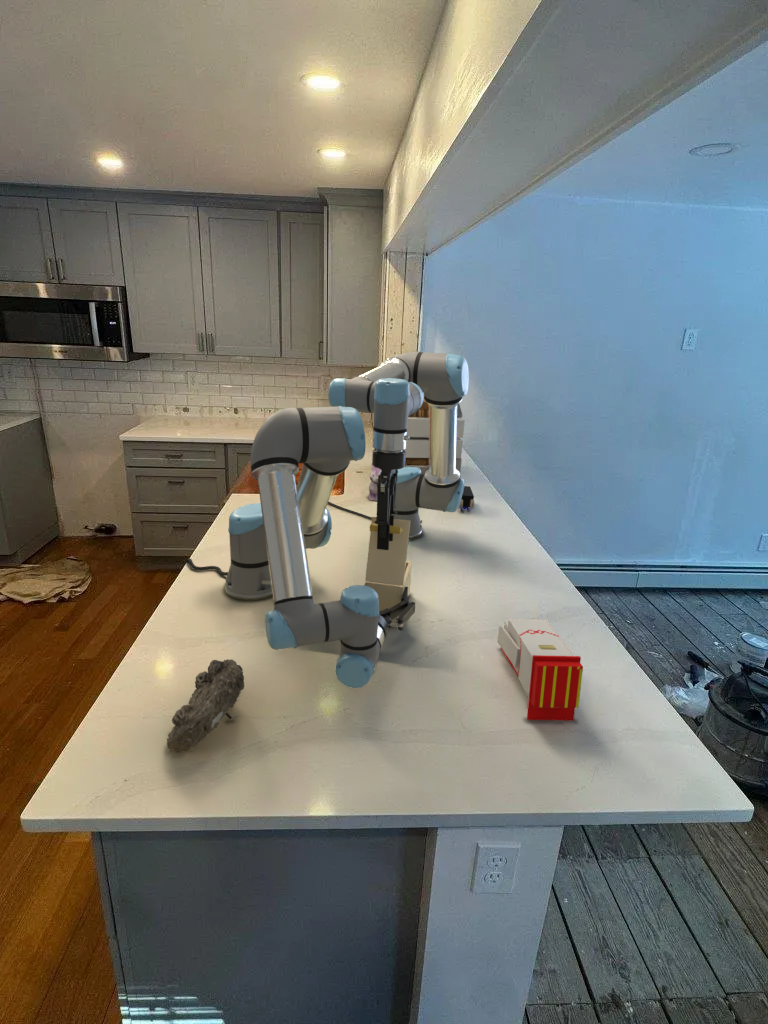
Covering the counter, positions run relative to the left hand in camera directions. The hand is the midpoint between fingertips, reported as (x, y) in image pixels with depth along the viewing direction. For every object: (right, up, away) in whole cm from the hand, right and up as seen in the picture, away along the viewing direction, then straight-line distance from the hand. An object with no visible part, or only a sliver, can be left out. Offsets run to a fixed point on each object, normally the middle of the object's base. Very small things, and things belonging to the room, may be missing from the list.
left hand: (386, 589), depth 146 cm
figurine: (-3, +26, +91) cm, 94 cm away
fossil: (-33, -19, -38) cm, 54 cm away
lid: (0, +10, -4) cm, 11 cm away
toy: (+31, -17, -22) cm, 42 cm away
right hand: (0, +12, -11) cm, 16 cm away
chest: (0, -5, +6) cm, 8 cm away
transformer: (+17, +39, +129) cm, 136 cm away
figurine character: (+31, +21, +83) cm, 91 cm away
